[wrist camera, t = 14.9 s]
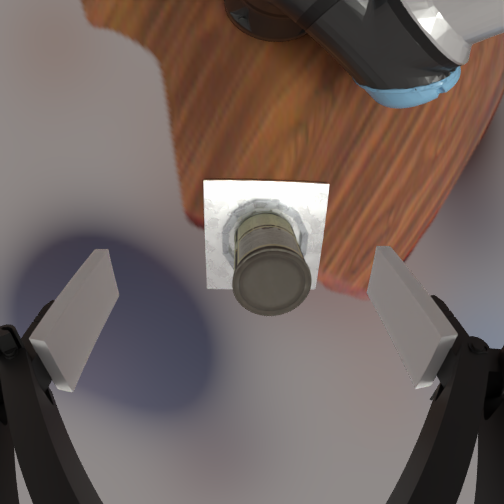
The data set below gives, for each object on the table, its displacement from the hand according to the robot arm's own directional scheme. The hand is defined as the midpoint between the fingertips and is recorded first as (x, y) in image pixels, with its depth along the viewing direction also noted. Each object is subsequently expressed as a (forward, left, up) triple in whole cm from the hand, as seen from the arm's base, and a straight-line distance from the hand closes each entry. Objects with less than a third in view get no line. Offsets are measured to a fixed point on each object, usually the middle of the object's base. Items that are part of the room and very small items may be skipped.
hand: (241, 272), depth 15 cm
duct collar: (+14, +4, -36) cm, 39 cm away
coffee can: (+14, +4, -35) cm, 38 cm away
